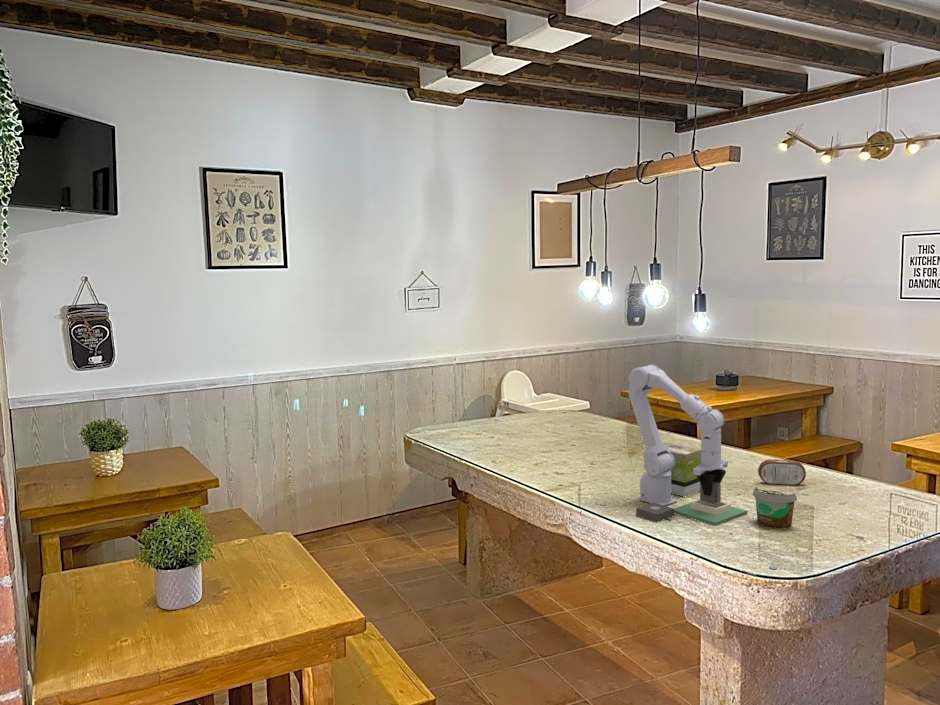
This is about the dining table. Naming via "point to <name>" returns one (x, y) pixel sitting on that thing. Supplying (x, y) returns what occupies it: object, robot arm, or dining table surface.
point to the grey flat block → (655, 512)
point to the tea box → (684, 469)
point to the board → (710, 511)
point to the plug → (712, 494)
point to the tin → (782, 472)
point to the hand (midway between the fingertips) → (710, 494)
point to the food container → (774, 508)
